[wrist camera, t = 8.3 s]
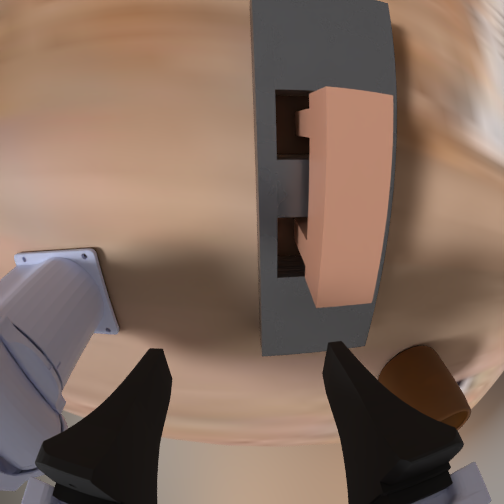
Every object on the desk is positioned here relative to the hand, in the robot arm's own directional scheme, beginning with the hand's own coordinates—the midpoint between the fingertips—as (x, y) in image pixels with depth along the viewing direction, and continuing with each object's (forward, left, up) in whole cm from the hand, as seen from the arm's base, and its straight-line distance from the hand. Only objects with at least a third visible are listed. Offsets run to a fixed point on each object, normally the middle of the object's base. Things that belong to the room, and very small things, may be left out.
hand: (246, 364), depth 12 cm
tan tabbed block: (+5, +6, -9) cm, 12 cm away
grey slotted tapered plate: (+5, +6, -9) cm, 12 cm away
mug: (+17, -16, -10) cm, 25 cm away
